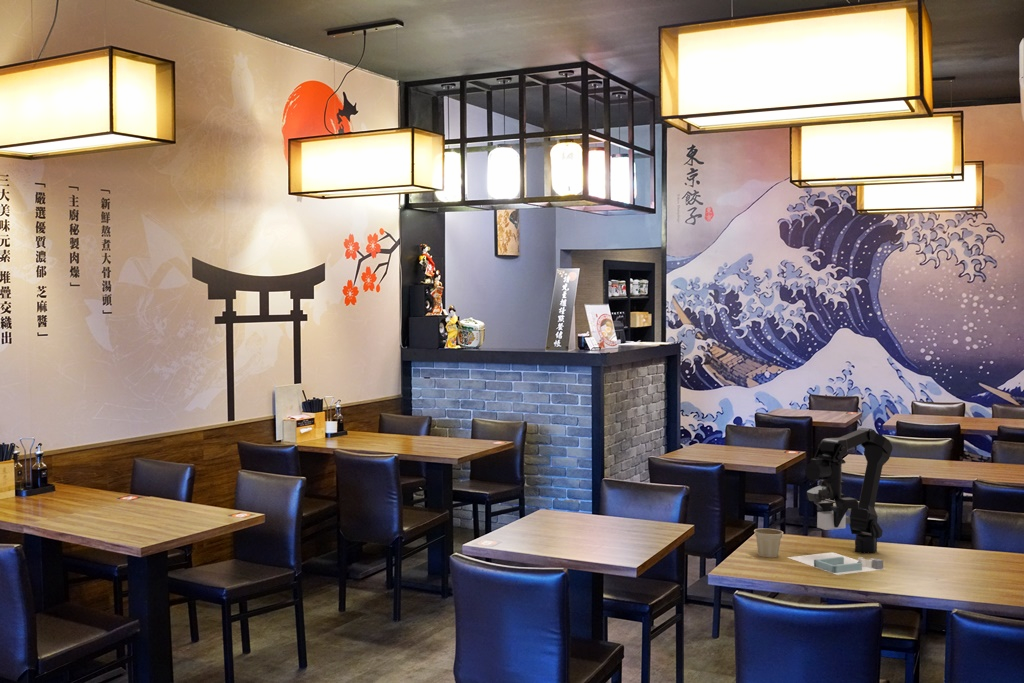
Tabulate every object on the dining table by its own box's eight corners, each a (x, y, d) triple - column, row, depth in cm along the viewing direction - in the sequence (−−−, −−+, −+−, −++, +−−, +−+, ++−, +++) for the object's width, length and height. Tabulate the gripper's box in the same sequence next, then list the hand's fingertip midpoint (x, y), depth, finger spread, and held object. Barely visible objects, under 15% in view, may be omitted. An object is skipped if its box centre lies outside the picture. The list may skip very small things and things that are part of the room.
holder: (814, 566, 293) (814, 559, 293) (841, 563, 297) (841, 556, 297) (834, 573, 285) (834, 566, 285) (862, 569, 289) (862, 563, 289)
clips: (866, 563, 297) (866, 556, 297) (878, 567, 292) (878, 560, 292) (855, 564, 295) (855, 557, 295) (866, 568, 290) (866, 561, 290)
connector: (817, 527, 303) (817, 512, 303) (843, 525, 306) (843, 510, 306) (825, 529, 299) (825, 514, 299) (852, 527, 303) (852, 512, 303)
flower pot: (780, 554, 312) (780, 528, 312) (785, 561, 302) (785, 534, 302) (751, 553, 313) (751, 527, 313) (756, 560, 303) (756, 534, 303)
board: (832, 554, 312) (832, 552, 312) (885, 571, 290) (885, 569, 290) (786, 559, 304) (786, 557, 304) (837, 577, 283) (837, 574, 283)
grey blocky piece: (868, 563, 296) (868, 555, 296) (883, 568, 290) (883, 560, 290) (856, 565, 294) (856, 557, 294) (871, 570, 288) (871, 561, 288)
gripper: (793, 474, 308) (792, 522, 308) (831, 483, 290) (830, 533, 291) (820, 473, 312) (820, 519, 312) (860, 481, 294) (859, 531, 294)
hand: (831, 525), depth 302 cm, fingers closed on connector, 4 cm apart
